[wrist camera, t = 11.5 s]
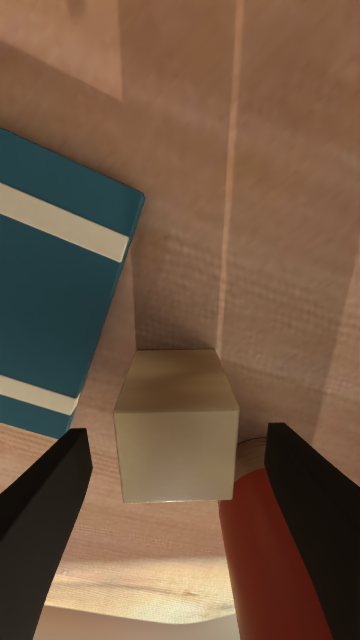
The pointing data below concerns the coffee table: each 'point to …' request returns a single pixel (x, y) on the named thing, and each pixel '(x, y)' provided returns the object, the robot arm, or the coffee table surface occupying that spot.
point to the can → (266, 559)
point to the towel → (55, 278)
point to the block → (176, 428)
